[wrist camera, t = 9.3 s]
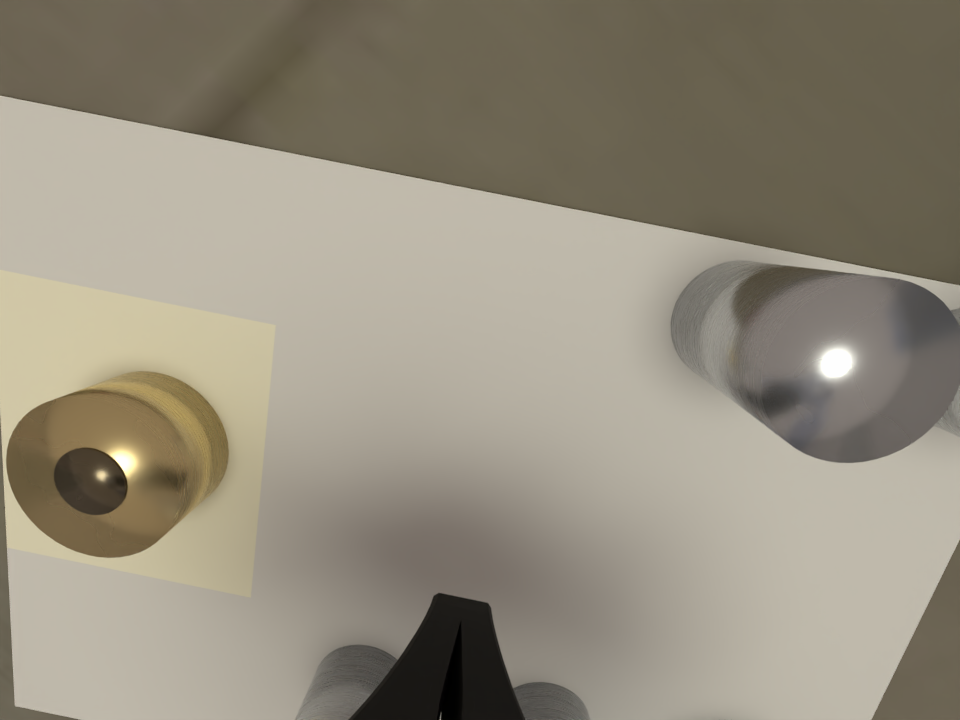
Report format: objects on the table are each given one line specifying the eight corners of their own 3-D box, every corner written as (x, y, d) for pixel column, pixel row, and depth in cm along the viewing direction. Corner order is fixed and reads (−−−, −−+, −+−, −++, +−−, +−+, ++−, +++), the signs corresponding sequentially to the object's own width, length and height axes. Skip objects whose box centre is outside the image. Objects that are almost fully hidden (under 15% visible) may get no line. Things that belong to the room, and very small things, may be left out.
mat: (791, 854, 18) (797, 868, 18) (25, 696, 18) (14, 705, 18) (1056, 306, 13) (1073, 308, 13) (-1, 96, 13) (-16, 92, 13)
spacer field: (810, 816, 17) (929, 1046, 12) (310, 712, 17) (232, 900, 12) (1050, 320, 13) (1377, 373, 8) (381, 187, 13) (306, 161, 8)
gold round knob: (209, 529, 16) (155, 583, 13) (71, 479, 16) (-9, 525, 13) (245, 404, 15) (194, 437, 12) (97, 348, 14) (16, 371, 12)
